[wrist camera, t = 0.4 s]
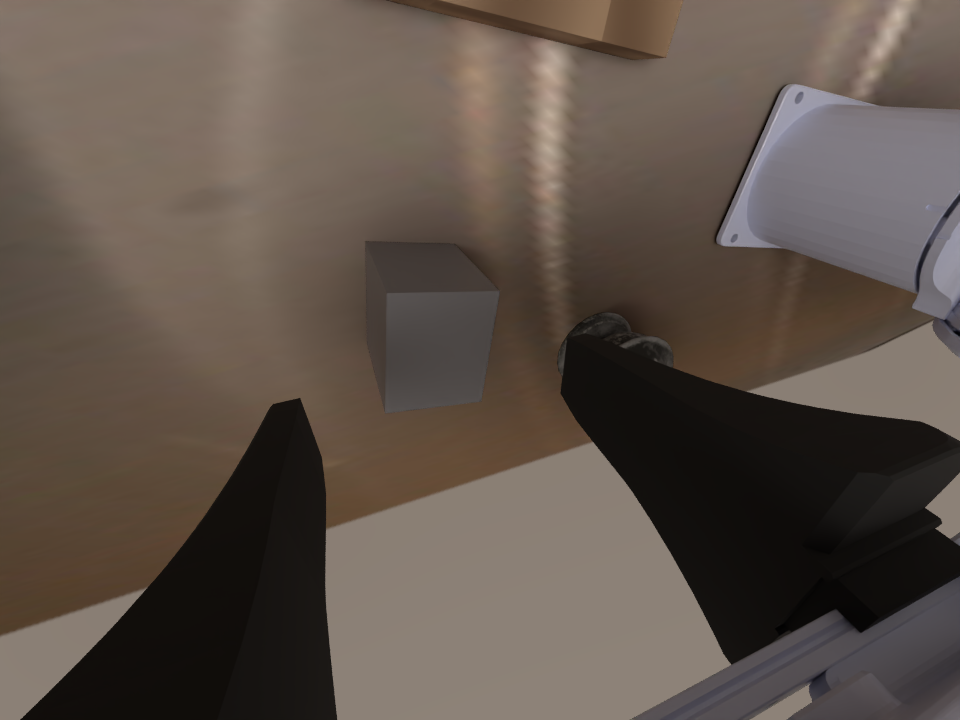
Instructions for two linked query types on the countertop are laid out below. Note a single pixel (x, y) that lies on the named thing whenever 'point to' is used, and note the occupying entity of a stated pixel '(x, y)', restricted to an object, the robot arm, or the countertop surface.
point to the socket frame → (576, 21)
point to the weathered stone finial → (620, 338)
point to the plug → (427, 324)
